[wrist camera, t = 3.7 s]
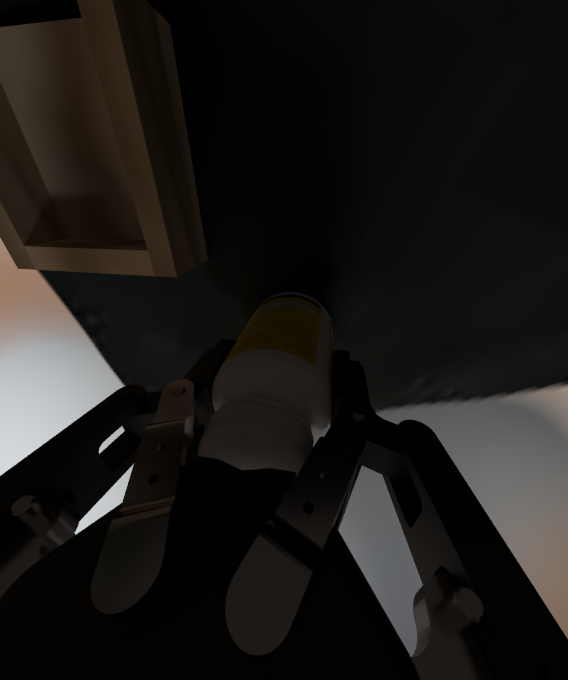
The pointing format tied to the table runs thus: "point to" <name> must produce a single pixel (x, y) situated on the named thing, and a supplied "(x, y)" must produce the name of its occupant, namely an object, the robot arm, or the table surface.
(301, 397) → the supplement bottle
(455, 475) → the robot arm
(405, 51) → the table surface
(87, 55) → the u holder
